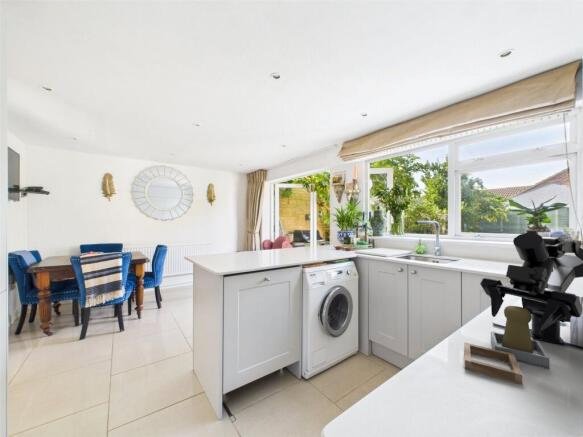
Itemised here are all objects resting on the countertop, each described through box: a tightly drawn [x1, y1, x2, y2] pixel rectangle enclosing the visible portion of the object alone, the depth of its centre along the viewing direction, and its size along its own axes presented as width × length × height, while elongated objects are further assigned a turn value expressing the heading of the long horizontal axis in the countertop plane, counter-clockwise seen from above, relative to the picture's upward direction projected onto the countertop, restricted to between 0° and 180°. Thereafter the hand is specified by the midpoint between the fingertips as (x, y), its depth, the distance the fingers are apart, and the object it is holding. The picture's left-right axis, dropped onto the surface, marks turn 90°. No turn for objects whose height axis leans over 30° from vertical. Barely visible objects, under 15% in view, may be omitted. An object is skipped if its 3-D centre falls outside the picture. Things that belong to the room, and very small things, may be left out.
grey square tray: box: [490, 330, 551, 370], centre depth 63 cm, size 10×10×2 cm
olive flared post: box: [502, 305, 533, 353], centre depth 63 cm, size 6×6×11 cm
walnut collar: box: [463, 342, 523, 386], centre depth 58 cm, size 10×10×2 cm
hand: (514, 322), depth 62 cm, fingers open, 9 cm apart
